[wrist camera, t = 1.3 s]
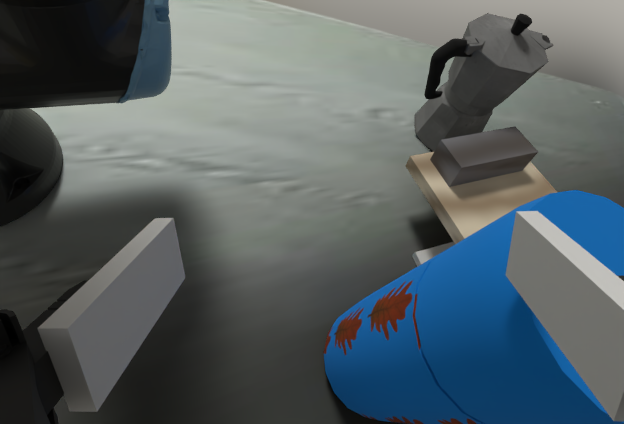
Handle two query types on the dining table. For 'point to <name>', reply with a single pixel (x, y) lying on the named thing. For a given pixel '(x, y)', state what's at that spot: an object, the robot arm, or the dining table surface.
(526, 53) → the coffeepot
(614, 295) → the robot arm
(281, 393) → the dining table surface
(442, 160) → the beam
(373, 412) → the thermos
